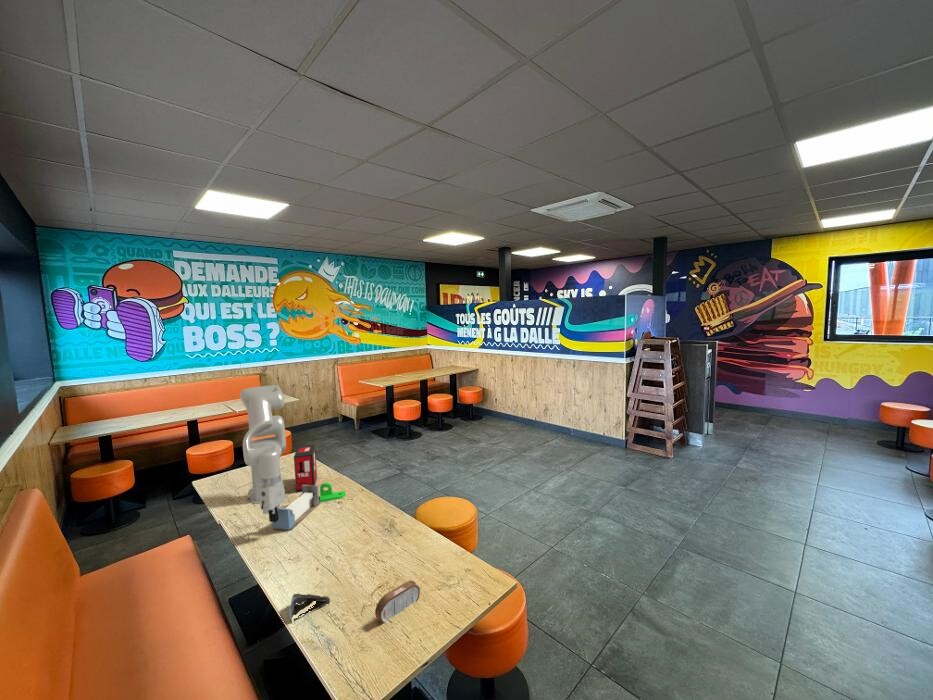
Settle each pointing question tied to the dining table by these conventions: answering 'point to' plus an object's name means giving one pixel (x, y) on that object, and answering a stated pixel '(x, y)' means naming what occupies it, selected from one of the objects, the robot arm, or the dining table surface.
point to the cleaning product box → (305, 466)
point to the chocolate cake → (302, 598)
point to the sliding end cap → (284, 519)
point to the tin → (397, 600)
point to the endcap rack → (316, 503)
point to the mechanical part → (329, 493)
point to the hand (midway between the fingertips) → (274, 520)
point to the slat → (301, 504)
